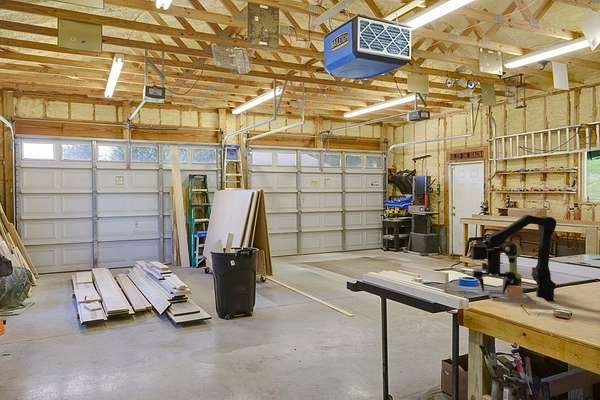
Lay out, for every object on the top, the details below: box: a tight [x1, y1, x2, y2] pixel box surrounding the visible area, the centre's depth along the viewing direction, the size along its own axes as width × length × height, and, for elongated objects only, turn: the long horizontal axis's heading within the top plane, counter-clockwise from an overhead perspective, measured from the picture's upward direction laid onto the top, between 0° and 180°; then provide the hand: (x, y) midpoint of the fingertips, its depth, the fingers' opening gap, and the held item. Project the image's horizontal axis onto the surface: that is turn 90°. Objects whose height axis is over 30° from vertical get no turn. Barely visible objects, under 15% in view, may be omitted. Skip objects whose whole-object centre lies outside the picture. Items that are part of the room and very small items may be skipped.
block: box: [505, 285, 524, 299], centre depth 208 cm, size 6×5×4 cm
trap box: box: [485, 290, 536, 305], centre depth 205 cm, size 18×16×2 cm
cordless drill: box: [502, 241, 523, 287], centre depth 226 cm, size 23×7×25 cm, turn 143°
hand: (493, 292), depth 210 cm, fingers open, 9 cm apart
